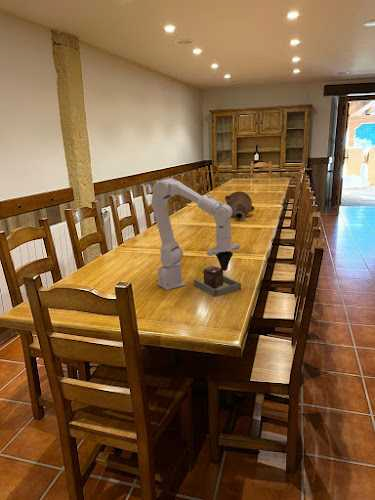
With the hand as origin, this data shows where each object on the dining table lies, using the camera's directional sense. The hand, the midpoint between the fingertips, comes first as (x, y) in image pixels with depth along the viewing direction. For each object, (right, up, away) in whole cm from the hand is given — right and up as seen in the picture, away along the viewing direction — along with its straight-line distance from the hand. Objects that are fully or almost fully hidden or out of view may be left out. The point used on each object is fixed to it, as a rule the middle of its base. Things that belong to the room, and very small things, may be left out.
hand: (224, 269), depth 148 cm
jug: (+25, +32, +139) cm, 145 cm away
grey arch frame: (-2, -7, +7) cm, 10 cm away
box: (-4, -7, +9) cm, 12 cm away
